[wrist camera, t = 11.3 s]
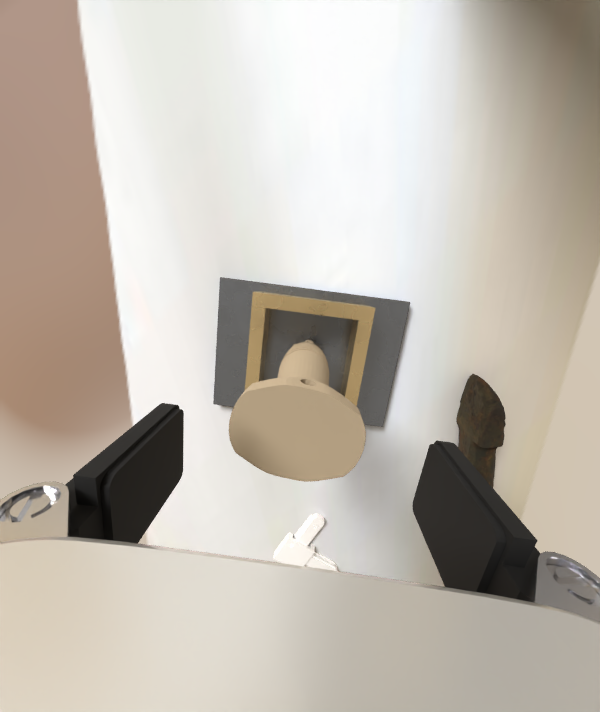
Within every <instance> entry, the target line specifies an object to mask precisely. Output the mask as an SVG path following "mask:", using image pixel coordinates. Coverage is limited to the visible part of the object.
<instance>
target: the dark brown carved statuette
mask: <svg viewBox="0 0 600 712" xmlns="http://www.w3.org/2000/svg"><path fill="white" fill-rule="evenodd" d="M460 403H461V404H460V408H459V411H458V415H457V424H458V425H459V428H460V433H459V446H458V448H459V449H460V451H461V452H462V453H463V454H464V455H465V456H466V458H467V459H468V460H469V461H470V462H471V463H472V465H473V466H474V467H475V468H476V469H477V470H478V472H479V473H480V474H481V475H482V476H483V477H484V479H485V480H486V481H487V482H488V483H489V485H490V486H491V487H492V488H493V481H494V471H495V454H496V448H497V447H501V446H502V445H503V440H504V426H505V421H504V420H505V412H504V407H503V405H502V403H501V401H500V399H499V397H498V396H497V394H496V393H495V392H494V391H493V389H492V388H491V387H490V386H489V385H488V383H486V382H485V381H484V380H483V379H482V378H480V377H479V376H477V375H475V374H472V375H471V376H470V378H469V379H468V381H467V383H466V386H465V389H464V392H463V394H462V398H461V401H460Z"/></svg>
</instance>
